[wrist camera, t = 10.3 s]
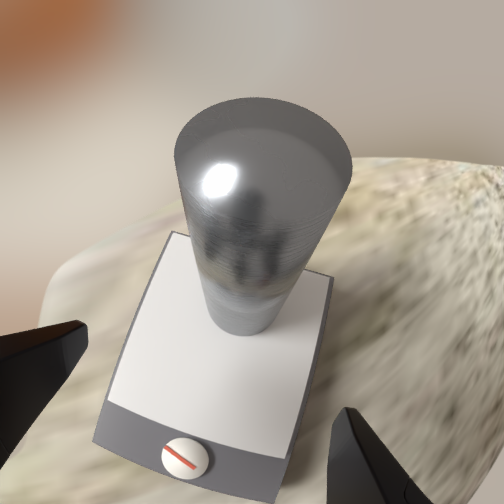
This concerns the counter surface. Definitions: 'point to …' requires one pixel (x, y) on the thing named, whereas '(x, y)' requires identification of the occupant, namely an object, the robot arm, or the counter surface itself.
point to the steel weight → (257, 202)
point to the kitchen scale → (212, 383)
